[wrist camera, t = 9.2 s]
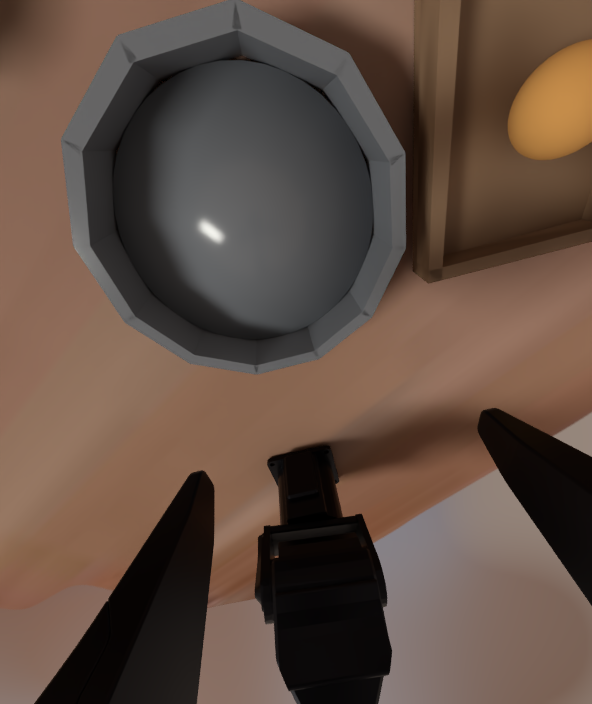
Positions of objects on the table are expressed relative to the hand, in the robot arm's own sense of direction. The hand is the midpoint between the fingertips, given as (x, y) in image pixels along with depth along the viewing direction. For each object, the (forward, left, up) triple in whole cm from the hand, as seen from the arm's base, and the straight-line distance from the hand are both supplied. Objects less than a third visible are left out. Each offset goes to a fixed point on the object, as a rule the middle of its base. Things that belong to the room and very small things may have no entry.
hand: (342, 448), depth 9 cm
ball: (+7, -13, -12) cm, 19 cm away
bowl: (+5, +2, -12) cm, 13 cm away
